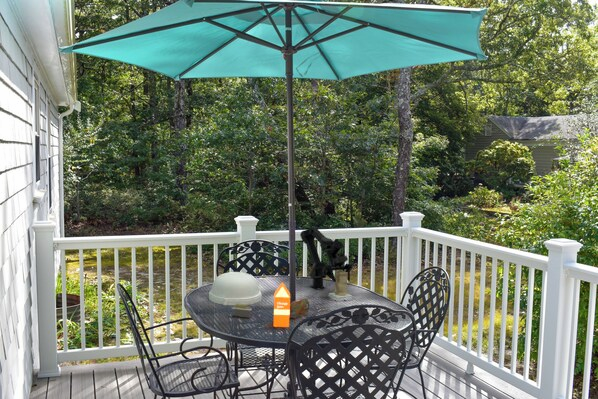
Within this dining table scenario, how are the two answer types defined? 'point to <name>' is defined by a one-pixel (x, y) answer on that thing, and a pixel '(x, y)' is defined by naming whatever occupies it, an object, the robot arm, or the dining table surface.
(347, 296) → the stone trivet
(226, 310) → the dining table surface
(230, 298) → the dome cover
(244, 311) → the platform
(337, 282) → the oak block
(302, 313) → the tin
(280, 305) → the orange juice
